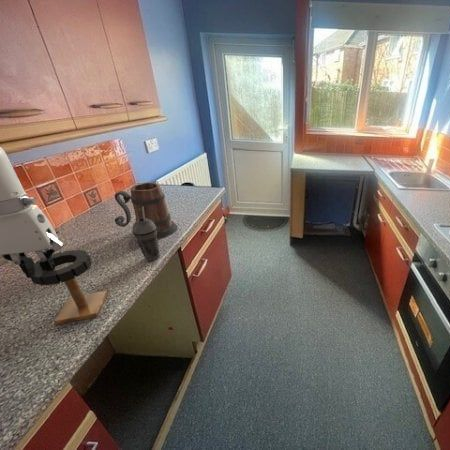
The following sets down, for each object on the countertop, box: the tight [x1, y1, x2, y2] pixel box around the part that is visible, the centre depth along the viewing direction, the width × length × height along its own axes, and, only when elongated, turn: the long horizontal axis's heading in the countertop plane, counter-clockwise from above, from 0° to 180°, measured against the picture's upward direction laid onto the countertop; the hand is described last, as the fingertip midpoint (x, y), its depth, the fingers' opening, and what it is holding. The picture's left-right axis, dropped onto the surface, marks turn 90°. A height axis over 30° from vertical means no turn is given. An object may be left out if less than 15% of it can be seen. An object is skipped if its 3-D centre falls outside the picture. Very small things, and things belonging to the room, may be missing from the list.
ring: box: [28, 249, 93, 286], centre depth 62 cm, size 11×11×2 cm
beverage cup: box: [132, 207, 161, 262], centre depth 86 cm, size 7×7×20 cm
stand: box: [53, 277, 109, 325], centre depth 66 cm, size 9×9×13 cm
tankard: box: [114, 182, 178, 240], centre depth 103 cm, size 24×17×20 cm
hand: (41, 272), depth 61 cm, fingers closed on ring, 2 cm apart
